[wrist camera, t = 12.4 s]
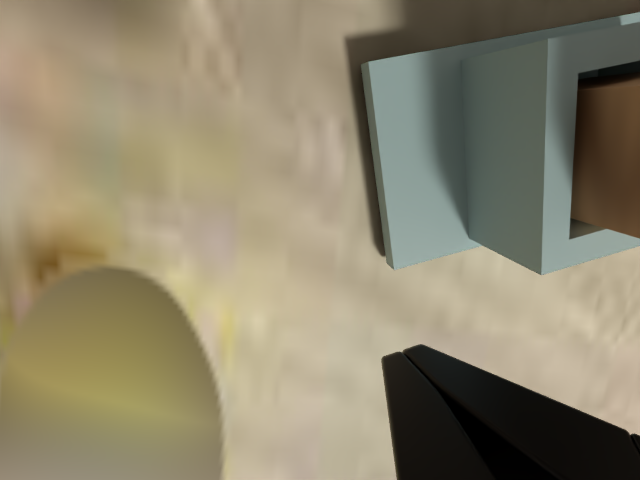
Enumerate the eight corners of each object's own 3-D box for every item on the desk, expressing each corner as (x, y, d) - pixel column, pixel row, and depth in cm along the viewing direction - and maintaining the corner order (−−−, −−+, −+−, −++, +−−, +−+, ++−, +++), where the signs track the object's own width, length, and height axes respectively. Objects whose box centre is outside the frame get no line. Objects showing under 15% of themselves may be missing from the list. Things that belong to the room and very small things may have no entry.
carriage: (360, 64, 14) (424, 39, 9) (674, 7, 16) (850, -36, 11) (386, 263, 16) (445, 317, 12) (650, 191, 19) (783, 214, 14)
